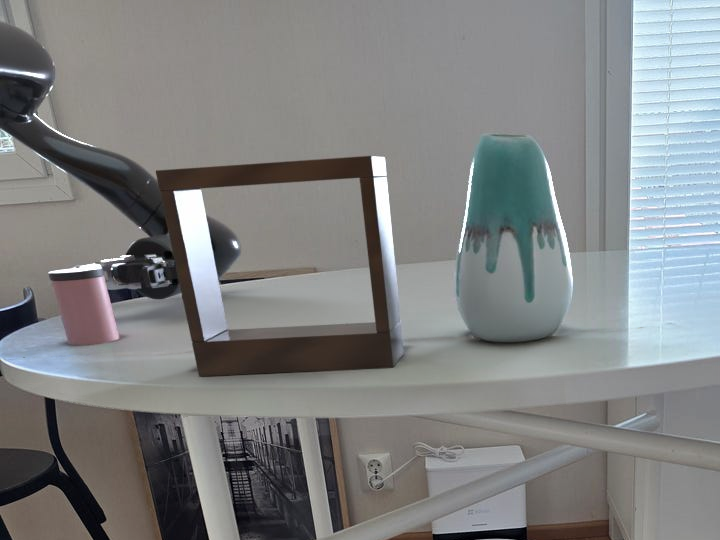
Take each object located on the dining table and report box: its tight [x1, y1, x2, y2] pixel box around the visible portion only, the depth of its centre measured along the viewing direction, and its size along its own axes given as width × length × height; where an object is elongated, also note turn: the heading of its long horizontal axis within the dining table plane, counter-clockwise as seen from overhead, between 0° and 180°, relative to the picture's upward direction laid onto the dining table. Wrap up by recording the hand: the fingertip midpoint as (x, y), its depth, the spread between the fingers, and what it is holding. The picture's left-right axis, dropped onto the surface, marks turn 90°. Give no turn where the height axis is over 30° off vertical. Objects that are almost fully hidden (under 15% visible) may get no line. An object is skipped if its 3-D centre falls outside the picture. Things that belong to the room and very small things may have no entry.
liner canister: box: [47, 267, 120, 346], centre depth 96 cm, size 6×6×8 cm
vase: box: [453, 132, 574, 343], centre depth 82 cm, size 12×12×18 cm
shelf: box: [155, 155, 405, 377], centre depth 76 cm, size 18×6×16 cm, turn 86°
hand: (112, 279), depth 102 cm, fingers open, 8 cm apart
